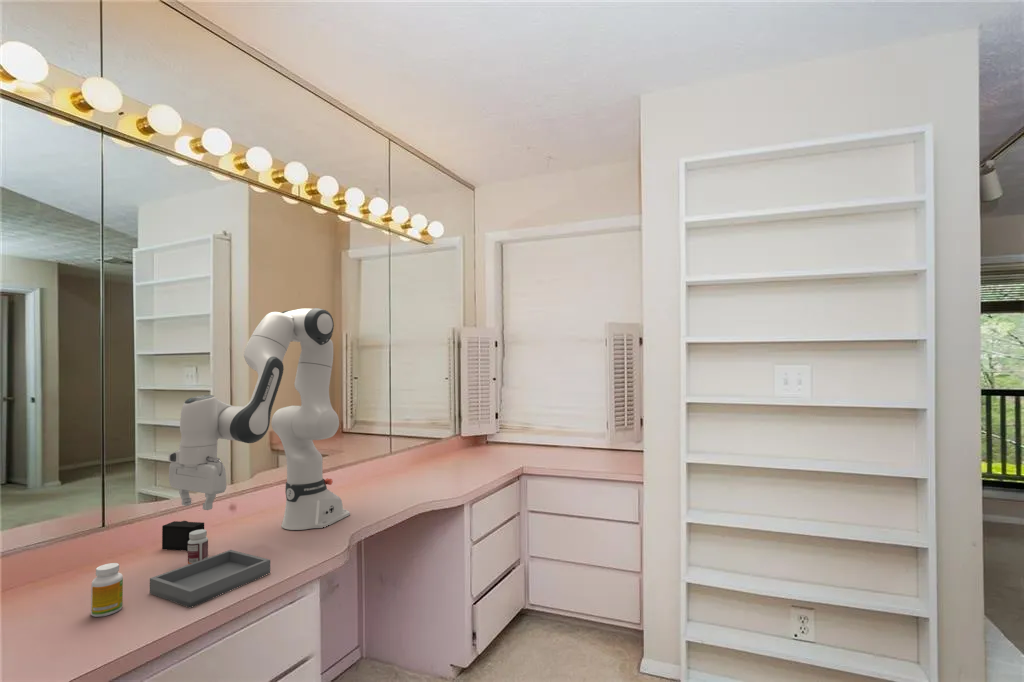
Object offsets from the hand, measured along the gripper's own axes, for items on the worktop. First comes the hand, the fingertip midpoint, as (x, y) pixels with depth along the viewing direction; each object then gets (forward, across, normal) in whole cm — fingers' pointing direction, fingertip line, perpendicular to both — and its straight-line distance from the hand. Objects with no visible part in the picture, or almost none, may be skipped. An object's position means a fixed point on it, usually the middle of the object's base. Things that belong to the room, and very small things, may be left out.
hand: (196, 507), depth 138 cm
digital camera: (+15, +16, -6) cm, 23 cm away
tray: (+15, -16, +5) cm, 23 cm away
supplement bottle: (+16, -9, +24) cm, 30 cm away
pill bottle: (+15, 0, -1) cm, 15 cm away
